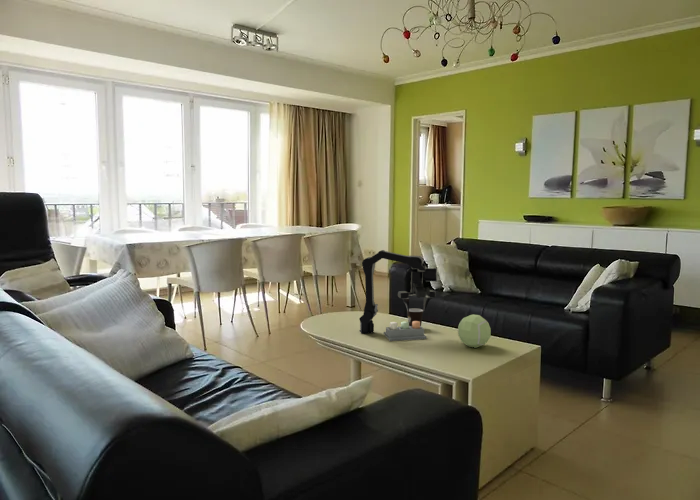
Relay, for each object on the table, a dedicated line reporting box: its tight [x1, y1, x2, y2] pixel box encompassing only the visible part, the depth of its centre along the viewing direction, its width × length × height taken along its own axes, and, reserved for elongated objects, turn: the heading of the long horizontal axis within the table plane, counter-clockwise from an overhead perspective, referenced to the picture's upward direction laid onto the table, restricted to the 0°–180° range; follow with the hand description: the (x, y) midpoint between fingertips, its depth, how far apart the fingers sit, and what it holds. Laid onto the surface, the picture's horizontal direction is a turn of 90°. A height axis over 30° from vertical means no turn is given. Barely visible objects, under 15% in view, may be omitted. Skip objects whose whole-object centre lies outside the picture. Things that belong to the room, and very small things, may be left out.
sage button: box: [400, 320, 409, 329], centre depth 266 cm, size 4×4×4 cm
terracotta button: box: [412, 321, 420, 329], centre depth 267 cm, size 4×4×4 cm
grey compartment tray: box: [383, 325, 428, 342], centre depth 267 cm, size 19×13×4 cm
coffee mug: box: [406, 308, 424, 327], centre depth 285 cm, size 12×9×10 cm
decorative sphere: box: [457, 314, 492, 349], centre depth 248 cm, size 15×15×15 cm
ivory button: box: [389, 321, 398, 330], centre depth 265 cm, size 4×4×4 cm
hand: (416, 310), depth 267 cm, fingers open, 8 cm apart
